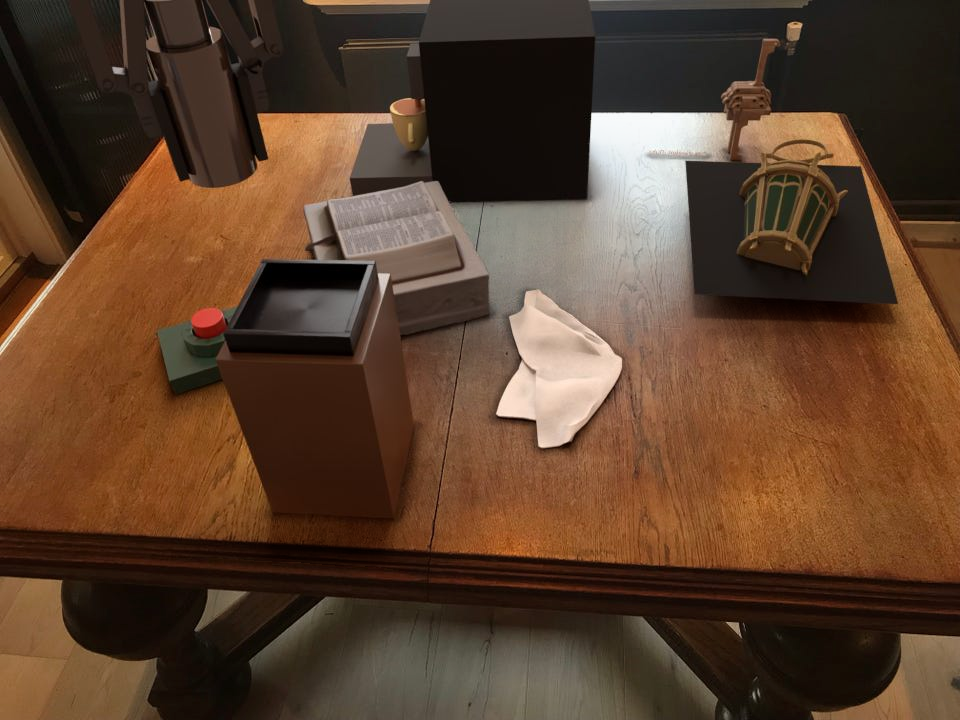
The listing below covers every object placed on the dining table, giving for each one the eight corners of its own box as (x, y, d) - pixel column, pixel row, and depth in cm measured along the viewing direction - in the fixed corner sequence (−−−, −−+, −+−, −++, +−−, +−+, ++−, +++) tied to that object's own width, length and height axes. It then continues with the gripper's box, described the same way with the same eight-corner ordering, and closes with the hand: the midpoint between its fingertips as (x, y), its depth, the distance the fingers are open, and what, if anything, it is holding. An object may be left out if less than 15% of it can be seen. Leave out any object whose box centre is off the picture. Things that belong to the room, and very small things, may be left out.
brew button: (198, 342, 89) (193, 331, 87) (192, 325, 91) (188, 313, 90) (229, 333, 90) (225, 321, 88) (223, 315, 92) (219, 304, 91)
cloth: (621, 454, 78) (623, 439, 76) (486, 444, 80) (485, 429, 78) (622, 297, 97) (623, 282, 95) (513, 291, 99) (512, 277, 97)
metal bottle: (195, 194, 57) (135, 11, 48) (183, 165, 60) (124, -11, 52) (264, 176, 59) (218, -5, 50) (248, 149, 62) (202, -25, 53)
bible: (300, 354, 92) (281, 287, 85) (311, 231, 112) (297, 169, 105) (494, 333, 93) (491, 266, 86) (471, 215, 113) (468, 153, 106)
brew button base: (175, 394, 88) (163, 369, 85) (162, 343, 94) (151, 318, 92) (278, 361, 91) (270, 335, 88) (259, 314, 98) (251, 289, 95)
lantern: (679, 329, 98) (674, 160, 113) (863, 348, 97) (832, 176, 113) (709, 261, 86) (698, 84, 102) (919, 282, 85) (875, 101, 101)
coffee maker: (371, 148, 130) (348, 0, 114) (580, 143, 128) (586, -9, 112) (354, 203, 117) (325, 45, 101) (587, 199, 115) (595, 36, 99)
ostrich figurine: (754, 145, 124) (778, 31, 112) (761, 166, 119) (786, 48, 107) (647, 144, 126) (659, 32, 114) (650, 165, 121) (663, 49, 109)
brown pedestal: (272, 512, 75) (207, 340, 60) (304, 421, 84) (255, 252, 69) (394, 519, 73) (358, 345, 59) (414, 426, 82) (387, 254, 67)
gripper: (253, -235, 49) (321, 116, 64) (-68, -203, 43) (91, 172, 59) (285, -226, 44) (350, 153, 59) (-74, -189, 38) (102, 218, 54)
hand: (221, 162), depth 59 cm, fingers closed on metal bottle, 5 cm apart
